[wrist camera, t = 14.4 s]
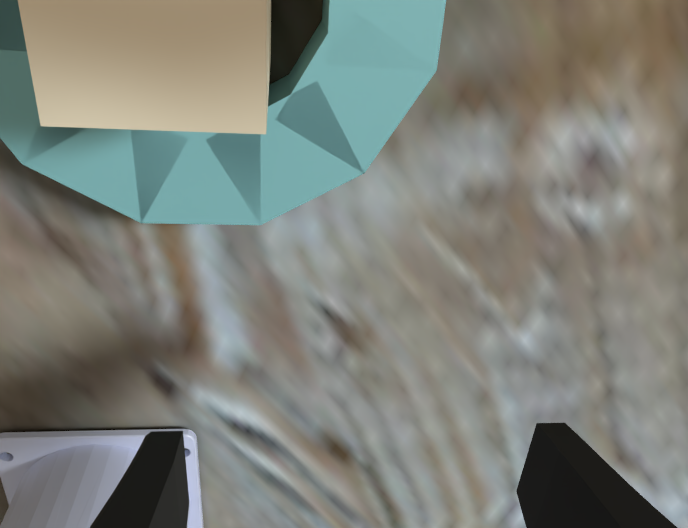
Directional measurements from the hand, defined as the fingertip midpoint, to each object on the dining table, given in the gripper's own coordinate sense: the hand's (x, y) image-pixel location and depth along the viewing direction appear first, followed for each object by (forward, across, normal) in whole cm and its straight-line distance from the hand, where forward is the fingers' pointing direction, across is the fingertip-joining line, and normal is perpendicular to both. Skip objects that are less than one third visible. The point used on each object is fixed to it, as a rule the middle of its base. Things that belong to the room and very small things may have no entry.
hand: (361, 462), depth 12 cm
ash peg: (+10, +4, -8) cm, 14 cm away
